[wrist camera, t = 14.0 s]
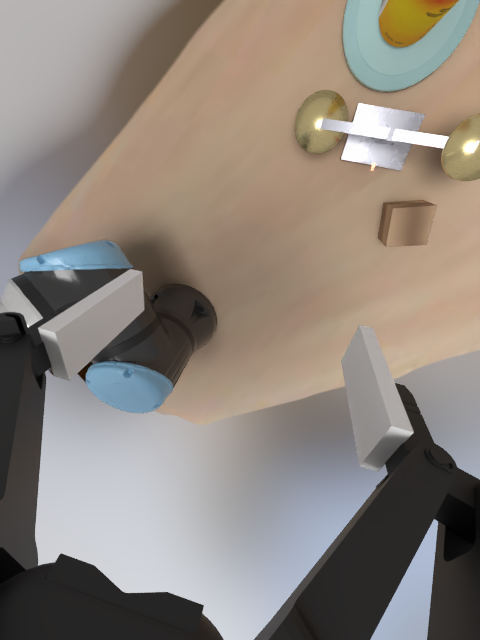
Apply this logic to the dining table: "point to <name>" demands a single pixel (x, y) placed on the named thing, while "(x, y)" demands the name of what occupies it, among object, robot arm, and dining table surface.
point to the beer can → (410, 19)
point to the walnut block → (406, 223)
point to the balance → (384, 135)
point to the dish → (398, 62)
